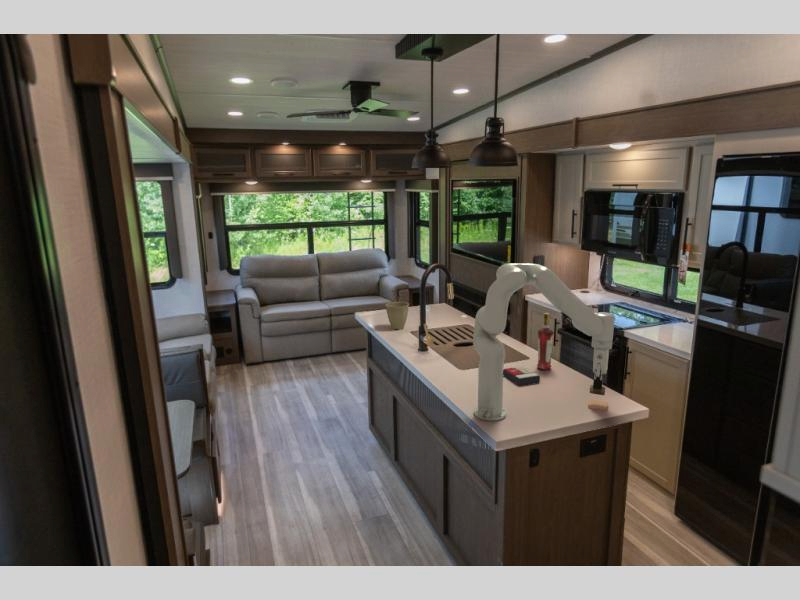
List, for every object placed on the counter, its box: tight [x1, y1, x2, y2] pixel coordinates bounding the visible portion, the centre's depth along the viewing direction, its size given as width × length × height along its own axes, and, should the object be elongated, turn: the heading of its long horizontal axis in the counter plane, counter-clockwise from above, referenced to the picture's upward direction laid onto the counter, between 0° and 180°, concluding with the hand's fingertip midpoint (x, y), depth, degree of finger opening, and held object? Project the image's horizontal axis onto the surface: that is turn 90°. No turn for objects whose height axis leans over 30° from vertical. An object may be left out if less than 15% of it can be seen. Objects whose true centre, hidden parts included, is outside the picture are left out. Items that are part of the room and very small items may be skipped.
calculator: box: [503, 365, 541, 387], centre depth 235 cm, size 11×4×15 cm
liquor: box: [536, 312, 554, 371], centre depth 245 cm, size 7×7×28 cm
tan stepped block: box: [589, 371, 606, 396], centre depth 202 cm, size 3×6×12 cm, turn 64°
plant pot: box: [385, 301, 410, 330], centre depth 322 cm, size 15×15×16 cm
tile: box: [587, 399, 609, 411], centre depth 205 cm, size 2×7×6 cm
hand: (597, 386), depth 203 cm, fingers closed on tan stepped block, 3 cm apart
